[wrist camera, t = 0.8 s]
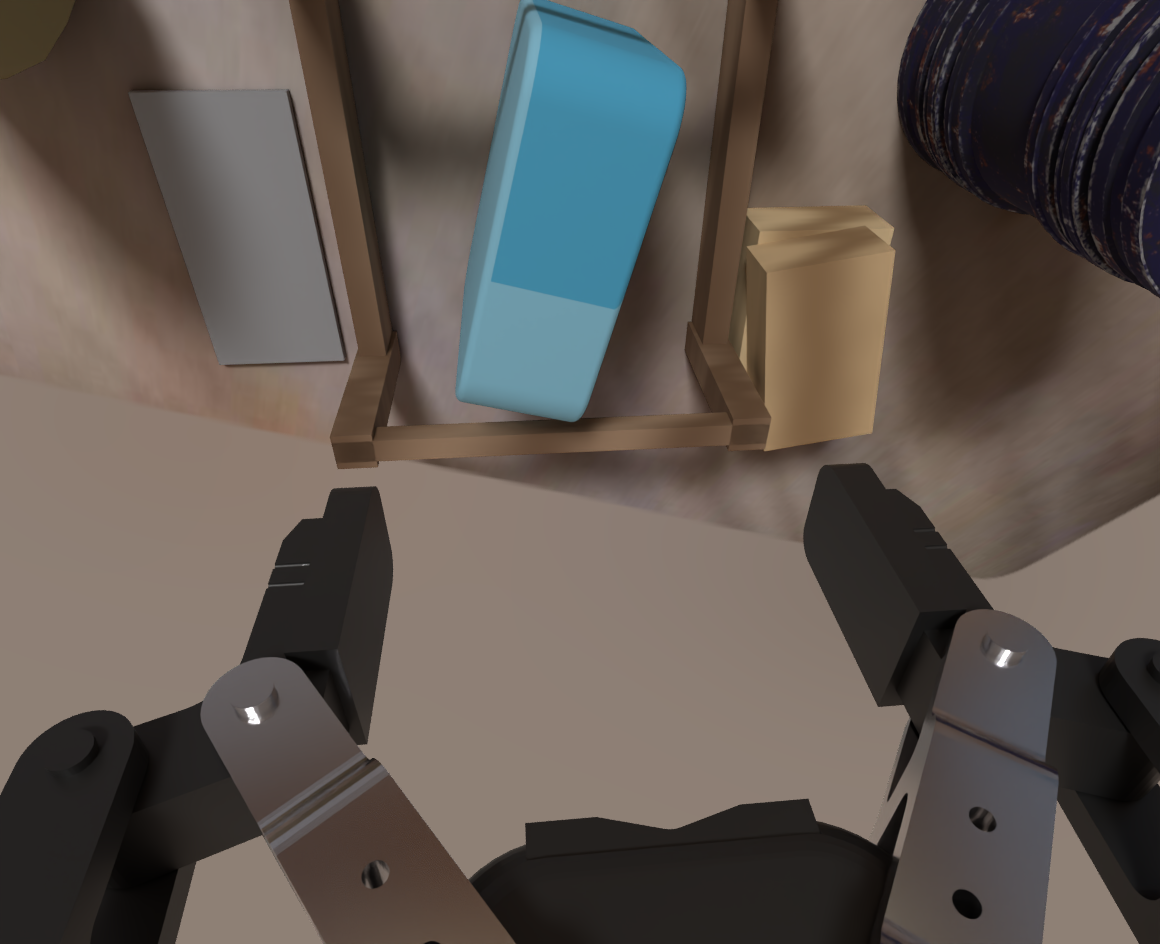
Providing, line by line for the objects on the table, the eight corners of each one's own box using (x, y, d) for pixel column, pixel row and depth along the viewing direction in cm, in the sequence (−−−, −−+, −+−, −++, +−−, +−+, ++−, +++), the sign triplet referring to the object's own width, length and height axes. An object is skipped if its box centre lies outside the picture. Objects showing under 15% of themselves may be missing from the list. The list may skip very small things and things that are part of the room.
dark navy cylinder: (978, 221, 35) (1225, 377, 23) (846, 90, 31) (1063, 199, 19) (1177, 25, 30) (1609, 94, 19) (1052, -159, 26) (1506, -220, 14)
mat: (288, 89, 29) (286, 91, 28) (345, 356, 36) (344, 360, 36) (131, 90, 28) (127, 92, 28) (222, 360, 36) (219, 364, 35)
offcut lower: (862, 203, 34) (894, 228, 31) (818, 385, 40) (841, 420, 37) (738, 205, 34) (759, 231, 31) (712, 389, 40) (728, 424, 37)
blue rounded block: (555, 300, 35) (577, 441, 26) (464, 280, 34) (452, 419, 25) (632, 25, 29) (699, 78, 19) (521, -12, 27) (533, 26, 18)
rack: (777, -107, 26) (880, -115, 19) (714, 348, 38) (765, 449, 31) (277, -114, 25) (190, -125, 18) (368, 361, 36) (337, 469, 29)
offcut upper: (865, 225, 31) (895, 250, 29) (847, 399, 37) (871, 432, 34) (746, 246, 31) (766, 272, 29) (746, 417, 37) (763, 451, 34)
